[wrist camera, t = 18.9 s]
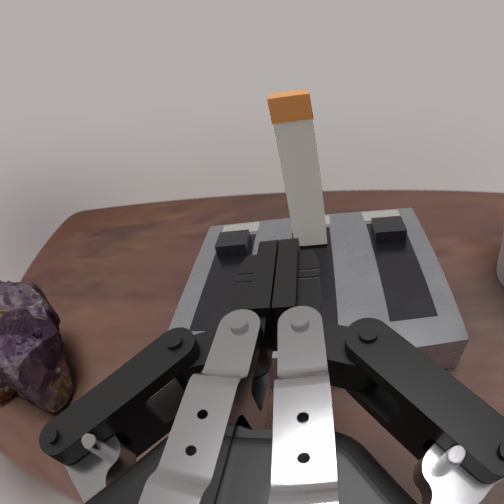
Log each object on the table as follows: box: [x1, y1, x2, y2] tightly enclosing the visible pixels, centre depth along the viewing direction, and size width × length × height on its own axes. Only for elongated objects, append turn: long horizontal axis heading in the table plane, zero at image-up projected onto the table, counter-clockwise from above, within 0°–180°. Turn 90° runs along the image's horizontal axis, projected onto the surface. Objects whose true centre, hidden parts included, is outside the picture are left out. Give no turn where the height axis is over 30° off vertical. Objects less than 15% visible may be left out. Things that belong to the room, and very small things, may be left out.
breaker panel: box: [169, 208, 469, 385], centre depth 22 cm, size 18×14×4 cm
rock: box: [0, 281, 74, 413], centre depth 20 cm, size 12×9×10 cm
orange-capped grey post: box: [267, 89, 327, 246], centre depth 21 cm, size 2×2×11 cm
